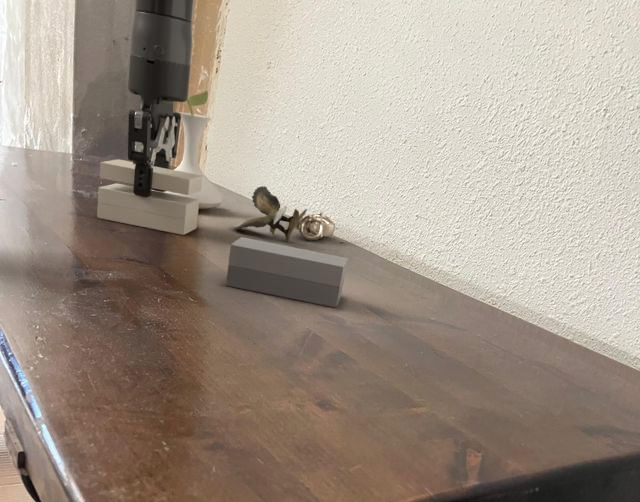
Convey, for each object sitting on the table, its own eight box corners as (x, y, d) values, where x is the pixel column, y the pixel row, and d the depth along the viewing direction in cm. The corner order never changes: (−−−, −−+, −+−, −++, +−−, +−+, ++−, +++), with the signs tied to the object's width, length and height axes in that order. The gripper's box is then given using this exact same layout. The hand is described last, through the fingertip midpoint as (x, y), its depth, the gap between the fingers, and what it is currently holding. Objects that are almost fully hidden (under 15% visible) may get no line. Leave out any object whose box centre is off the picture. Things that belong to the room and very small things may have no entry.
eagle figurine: (305, 230, 112) (253, 206, 113) (309, 193, 106) (254, 168, 107) (280, 262, 108) (227, 236, 110) (282, 225, 102) (226, 199, 103)
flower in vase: (201, 201, 128) (217, 39, 117) (234, 215, 120) (254, 43, 109) (128, 195, 120) (139, 22, 110) (158, 211, 112) (173, 25, 102)
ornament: (299, 229, 118) (303, 206, 117) (339, 239, 117) (344, 215, 115) (280, 234, 111) (284, 210, 110) (323, 245, 110) (327, 220, 108)
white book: (99, 178, 98) (100, 162, 97) (117, 174, 103) (118, 159, 102) (188, 195, 97) (189, 179, 96) (201, 190, 103) (202, 175, 102)
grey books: (225, 285, 79) (230, 244, 77) (236, 276, 84) (241, 236, 82) (336, 307, 79) (343, 266, 77) (340, 297, 83) (347, 258, 81)
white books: (96, 217, 100) (98, 187, 98) (114, 212, 105) (116, 183, 104) (183, 235, 99) (186, 204, 98) (196, 228, 105) (199, 199, 103)
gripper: (150, 55, 101) (142, 183, 107) (110, 47, 87) (103, 193, 94) (204, 65, 100) (192, 193, 107) (172, 59, 87) (160, 204, 94)
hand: (150, 193), depth 101 cm, fingers closed on white book, 6 cm apart
